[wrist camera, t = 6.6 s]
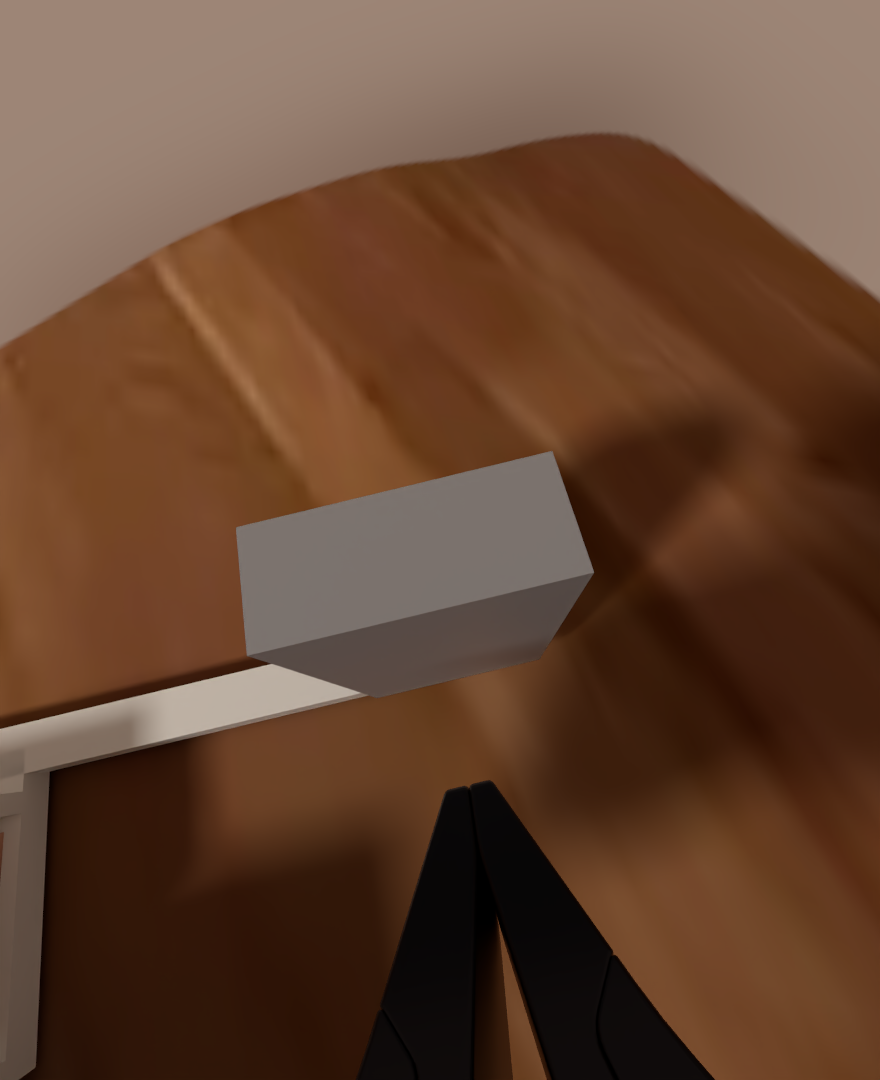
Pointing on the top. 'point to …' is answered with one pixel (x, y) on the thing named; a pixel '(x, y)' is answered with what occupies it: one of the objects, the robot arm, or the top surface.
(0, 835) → the block
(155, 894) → the top surface
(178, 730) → the grey white bent piece
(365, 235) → the top surface
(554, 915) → the robot arm
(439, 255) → the top surface
